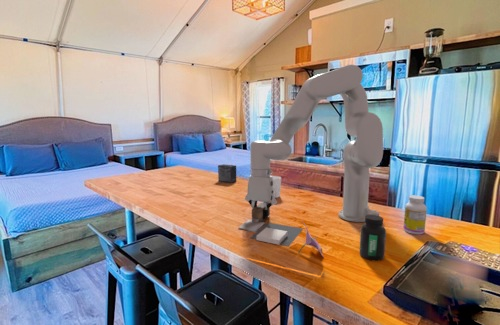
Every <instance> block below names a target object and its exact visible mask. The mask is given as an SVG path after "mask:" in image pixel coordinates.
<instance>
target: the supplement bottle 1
mask: <svg viewBox="0 0 500 325" xmlns="http://www.w3.org/2000/svg"><path fill="white" fill-rule="evenodd" d="M386 239H387V229H386V228H385V227H384V217H382V216H380V215H379V216H377V215H366V216H365V222H364V223H363V224H362V225H361V227H360V237H359V255H360V256H361V257H362V258H363V257H364V258H363V259H365V258H366V259H365V260H368V259H369V260H368V261H372V260H375V261H374V262H379V261H378V260H380V261H382V260H383V259H384V258H385V251H386Z"/></svg>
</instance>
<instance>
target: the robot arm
mask: <svg viewBox="0 0 500 325" xmlns="http://www.w3.org/2000/svg"><path fill="white" fill-rule="evenodd" d="M363 77H364V74H363V71H362V69H361V67H359V66H357V64H356V65H355V64H347V65H344V66H341V67H338V68H335V69H333V70H331V71H327V72H324V73H320V74H316V75H314V76H312V77H310V78H308V79H306V80H305V81H304V83H303V84H302V86H301V88H300V90H299V91H298V93H297V95H296V97H295V98H294V101H293V102H292V104H291V106H290V108H289V109H288V111H287V112H286V114H285V116H284V117H283V119H282V120H281V121H280V123H279V125H278V126H277V128H276V129H275V131H274V133H273V135H272V137H271V138H270V140H269V141H267V140H252V141H251V143H250V175H249V177H248V180H247V190H246V192H247V194H246V195H245V197H244V200H245V201H246V202H247V203H249V205H250V207H251V208H252V209H253V208H255V207H256V206H257V205H258V202H260V203H264V210H263V219H265V220H266V219H268V218H269V216H270V215H269V208H271V207H272V206H274V205H276V204H277V203H278V200H277V199H276V198H275V197H274V184H273V178H272V176H273V174H274V171H273V170H272V168H271V160H275V161H285V160H287V159H289V158H290V156H291V155H292V147H291V145H290V143H291V140H292V139H293V137H294V136H295V135H296V133H297V132H298V131H299V130H301V129H302V128H303V127H304V126H305V125H307V124H308V122H309V120H310V119H311V117H312V115H313V113H314V112H315V110H316V109H317V106H318V104H319V103H320V101H321V100H324V99H327V98H331V97H333V96H337V95H340V96H341V98H342V100H343V105H344V126H345V131H346V133H347V134H348V135H349V136H351V137H353V138H356V139H355V140H354V139H353V140H350V141H349V142H348V143H347V144H346V145H345V146H344V148H343V152H342V153H343V154H342V155H343V156H342V157H343V165H344V166H343V168H344V174H343V175H344V176H343V177H344V178H343V196H342V210H340V211H338V217H339V218H340V219H342V220H344V221H348V222H354V223H365V216H366V215H377V216H380V211H377V210H374V209H370V206H369V205H368V204H369V193H370V192H369V189H370V169H373V168H376V167H377V166H378V165H380V163H381V162H382V159H383V155H384V131H383V130H384V128H383V123H382V120H381V118H380V117H379V116H378V115H377V114H376V113H373V112H370V111H369V102H368V101H369V100H368V96H367V93H366V89H365V88H364V86H363V85H362V81H363ZM268 215H269V216H268Z"/></svg>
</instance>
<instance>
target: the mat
mask: <svg viewBox="0 0 500 325" xmlns="http://www.w3.org/2000/svg"><path fill="white" fill-rule="evenodd" d="M266 227H267V228H272V229H277V230H283V231H287V237H286V238H285V239H284V240H283V241H282V242H281V243H280V244H279V245H280V246H284V247H290V246H291V245H292V243H293V242H294V241H295V240H296V239H297V237H298V236H299V235H300V234H301V232H303V230H304V228H303V227H302V228H301V227H296V226H291V225H285V224H279V223H274V222H269V221H268V222H267V223H266V224H264V225H263V226H262V227H261V228H259V229H258V230H257V231H256V232H254V233H253V235H251V236H250V237H249V239H252V240H256V236H257V235H258V234H259V233H260V232H262V231H263V230H264V229H265V228H266ZM279 245H278V246H279Z"/></svg>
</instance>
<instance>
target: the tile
mask: <svg viewBox="0 0 500 325" xmlns="http://www.w3.org/2000/svg"><path fill="white" fill-rule="evenodd" d="M286 237H287V231H283V230H277V229H272V228H267V227H266V228H265V229H264V230H263V231H262V232H260V233H259V234H258V235H257V236H256V239H255V241H260V242H263V243H268V244H272V245H273V244H274V245H278V246H279V244H280V243H281V242H282V241H283V240H284V239H285V238H286Z"/></svg>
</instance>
